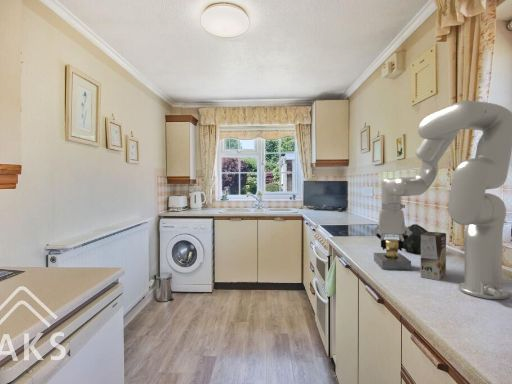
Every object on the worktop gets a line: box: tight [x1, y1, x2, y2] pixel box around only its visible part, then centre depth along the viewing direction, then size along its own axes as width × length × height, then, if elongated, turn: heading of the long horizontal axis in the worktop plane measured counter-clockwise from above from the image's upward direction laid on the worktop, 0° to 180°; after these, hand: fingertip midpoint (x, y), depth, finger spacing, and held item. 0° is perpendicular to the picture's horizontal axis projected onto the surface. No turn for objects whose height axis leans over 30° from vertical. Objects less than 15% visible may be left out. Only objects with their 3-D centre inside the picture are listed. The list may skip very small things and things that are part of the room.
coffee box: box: [420, 231, 447, 281], centre depth 112 cm, size 9×6×16 cm
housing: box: [373, 252, 412, 271], centre depth 128 cm, size 14×11×4 cm
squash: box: [398, 223, 429, 254], centre depth 150 cm, size 14×15×15 cm
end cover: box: [384, 238, 400, 258], centre depth 127 cm, size 6×6×8 cm
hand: (391, 249), depth 127 cm, fingers closed on end cover, 6 cm apart
